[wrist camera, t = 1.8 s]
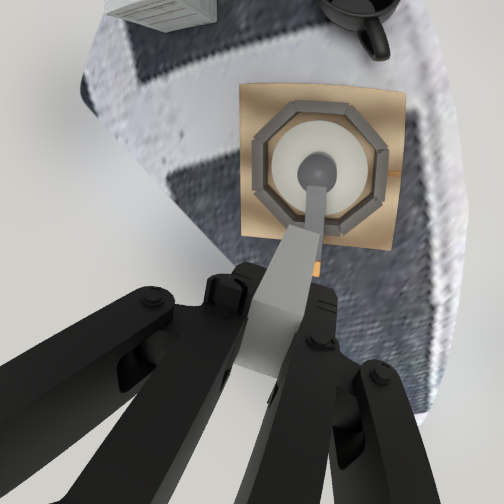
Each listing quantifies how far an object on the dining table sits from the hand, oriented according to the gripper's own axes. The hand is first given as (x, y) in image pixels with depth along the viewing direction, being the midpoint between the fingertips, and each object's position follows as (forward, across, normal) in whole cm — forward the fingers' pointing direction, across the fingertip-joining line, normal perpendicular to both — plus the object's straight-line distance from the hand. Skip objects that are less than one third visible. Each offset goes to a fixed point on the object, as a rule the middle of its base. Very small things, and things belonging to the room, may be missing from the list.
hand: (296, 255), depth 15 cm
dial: (+21, 0, -1) cm, 21 cm away
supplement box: (+23, -21, +18) cm, 36 cm away
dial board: (+23, 0, +1) cm, 23 cm away
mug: (+23, 0, +19) cm, 30 cm away
